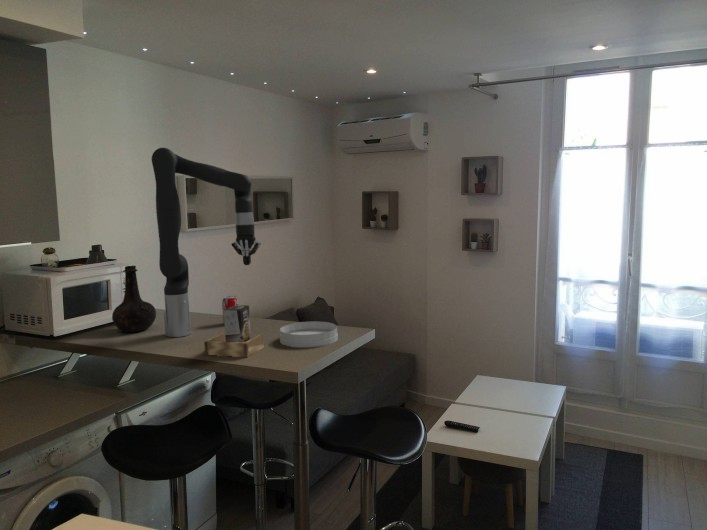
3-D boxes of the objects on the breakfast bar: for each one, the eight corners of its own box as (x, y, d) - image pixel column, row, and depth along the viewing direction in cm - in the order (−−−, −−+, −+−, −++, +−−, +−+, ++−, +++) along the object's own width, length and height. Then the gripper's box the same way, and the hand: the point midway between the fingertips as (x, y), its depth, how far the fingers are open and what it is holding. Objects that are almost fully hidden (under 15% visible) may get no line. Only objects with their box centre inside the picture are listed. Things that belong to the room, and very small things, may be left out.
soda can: (235, 325, 242) (234, 298, 241) (220, 325, 244) (218, 298, 242) (242, 321, 249) (240, 295, 248) (227, 321, 251) (225, 295, 249)
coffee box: (243, 355, 195) (240, 309, 193) (225, 355, 196) (222, 310, 194) (252, 348, 204) (249, 304, 202) (235, 348, 205) (232, 304, 203)
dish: (328, 331, 227) (327, 319, 226) (346, 343, 206) (345, 330, 206) (274, 337, 220) (273, 325, 219) (287, 351, 199) (286, 337, 198)
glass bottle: (132, 336, 229) (126, 269, 225) (104, 332, 238) (98, 267, 234) (166, 327, 244) (161, 263, 241) (138, 324, 253) (133, 262, 250)
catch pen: (205, 355, 196) (204, 341, 196) (223, 345, 209) (223, 332, 208) (247, 357, 192) (246, 343, 191) (263, 347, 204) (263, 334, 204)
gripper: (226, 224, 229) (228, 266, 231) (255, 223, 226) (257, 266, 228) (234, 223, 236) (237, 263, 239) (263, 222, 233) (265, 263, 235)
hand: (247, 264), depth 233 cm, fingers closed
